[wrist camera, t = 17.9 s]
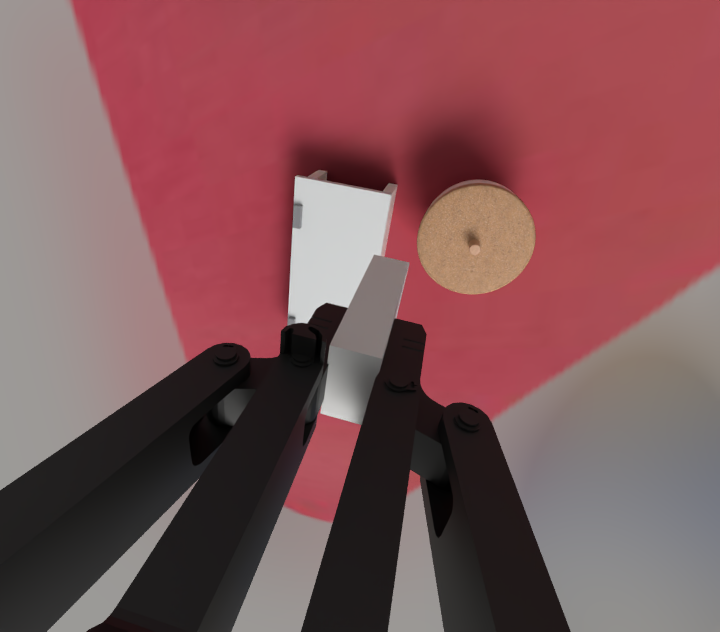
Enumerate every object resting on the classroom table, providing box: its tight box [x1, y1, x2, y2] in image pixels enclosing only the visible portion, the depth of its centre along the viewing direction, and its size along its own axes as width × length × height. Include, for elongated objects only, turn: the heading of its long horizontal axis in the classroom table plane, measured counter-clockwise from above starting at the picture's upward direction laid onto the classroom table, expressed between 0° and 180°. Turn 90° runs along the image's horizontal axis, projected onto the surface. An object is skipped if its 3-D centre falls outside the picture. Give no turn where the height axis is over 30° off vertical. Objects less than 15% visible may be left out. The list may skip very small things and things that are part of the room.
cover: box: [287, 175, 392, 326], centre depth 46 cm, size 22×10×1 cm, turn 172°
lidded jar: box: [417, 179, 536, 294], centre depth 40 cm, size 11×11×9 cm
